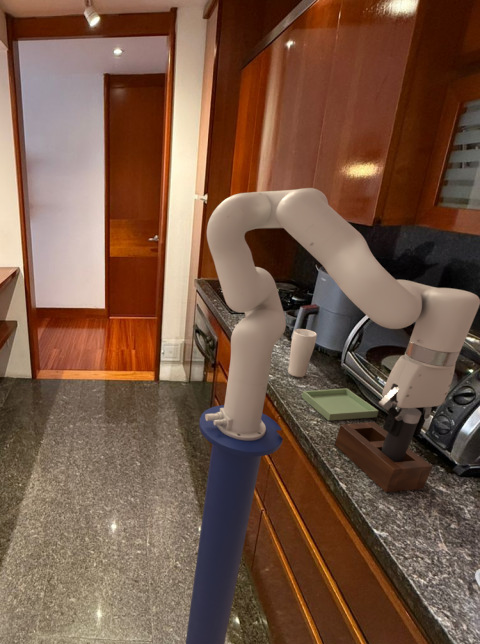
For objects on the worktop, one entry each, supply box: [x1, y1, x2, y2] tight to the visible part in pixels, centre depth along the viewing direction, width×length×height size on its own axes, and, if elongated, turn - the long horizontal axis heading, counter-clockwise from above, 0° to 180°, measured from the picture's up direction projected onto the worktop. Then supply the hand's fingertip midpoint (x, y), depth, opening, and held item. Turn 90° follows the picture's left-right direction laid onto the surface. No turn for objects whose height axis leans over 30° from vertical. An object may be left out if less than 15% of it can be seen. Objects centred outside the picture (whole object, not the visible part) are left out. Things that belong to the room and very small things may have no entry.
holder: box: [334, 421, 433, 493], centre depth 87 cm, size 9×16×6 cm, turn 7°
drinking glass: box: [287, 328, 318, 378], centre depth 126 cm, size 7×7×15 cm
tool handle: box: [381, 406, 421, 462], centre depth 81 cm, size 4×4×13 cm
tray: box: [301, 388, 379, 422], centre depth 110 cm, size 14×12×2 cm
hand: (401, 431), depth 81 cm, fingers closed on tool handle, 4 cm apart
